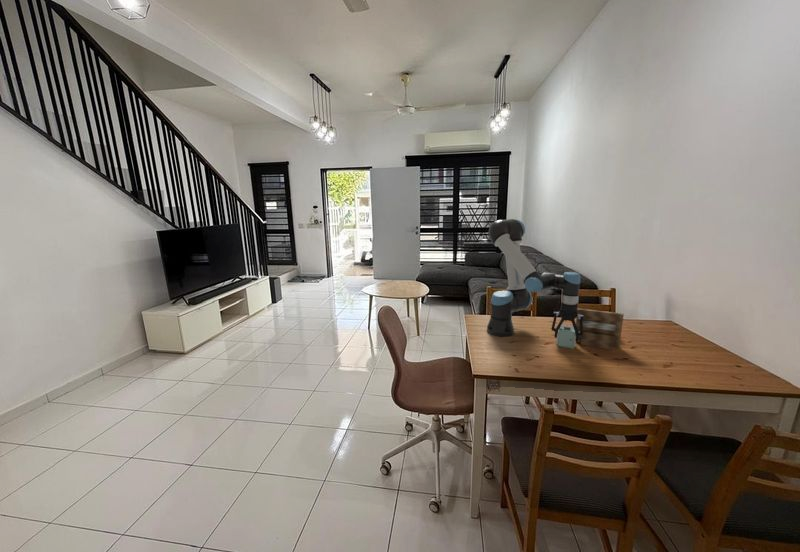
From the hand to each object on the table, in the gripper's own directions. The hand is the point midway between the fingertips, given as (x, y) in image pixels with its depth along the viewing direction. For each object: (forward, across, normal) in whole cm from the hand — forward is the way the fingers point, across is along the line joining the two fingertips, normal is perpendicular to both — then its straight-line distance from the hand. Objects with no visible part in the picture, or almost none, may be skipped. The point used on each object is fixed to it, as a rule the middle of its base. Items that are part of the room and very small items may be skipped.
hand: (565, 344), depth 165 cm
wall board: (0, +14, +8) cm, 16 cm away
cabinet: (0, 0, +1) cm, 1 cm away
